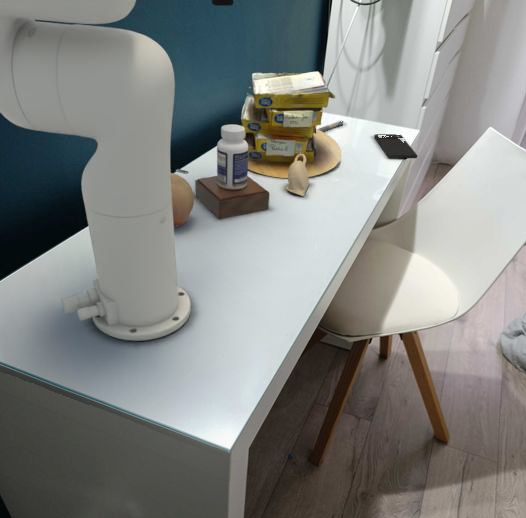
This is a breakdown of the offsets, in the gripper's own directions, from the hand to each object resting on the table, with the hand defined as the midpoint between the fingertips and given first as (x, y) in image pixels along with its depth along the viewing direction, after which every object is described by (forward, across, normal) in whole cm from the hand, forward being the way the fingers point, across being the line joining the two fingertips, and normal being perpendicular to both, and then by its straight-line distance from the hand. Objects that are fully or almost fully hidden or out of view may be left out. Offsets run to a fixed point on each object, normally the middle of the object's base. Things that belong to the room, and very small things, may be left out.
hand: (208, 0), depth 75 cm
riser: (+30, +5, +2) cm, 31 cm away
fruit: (+31, +8, -11) cm, 33 cm away
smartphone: (+30, 0, +49) cm, 57 cm away
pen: (+29, -24, +46) cm, 59 cm away
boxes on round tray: (+33, -11, +28) cm, 44 cm away
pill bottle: (+27, +5, +2) cm, 28 cm away
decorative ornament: (+31, +4, +17) cm, 35 cm away
